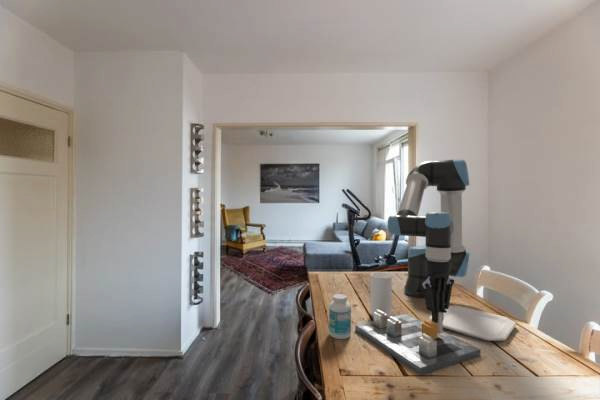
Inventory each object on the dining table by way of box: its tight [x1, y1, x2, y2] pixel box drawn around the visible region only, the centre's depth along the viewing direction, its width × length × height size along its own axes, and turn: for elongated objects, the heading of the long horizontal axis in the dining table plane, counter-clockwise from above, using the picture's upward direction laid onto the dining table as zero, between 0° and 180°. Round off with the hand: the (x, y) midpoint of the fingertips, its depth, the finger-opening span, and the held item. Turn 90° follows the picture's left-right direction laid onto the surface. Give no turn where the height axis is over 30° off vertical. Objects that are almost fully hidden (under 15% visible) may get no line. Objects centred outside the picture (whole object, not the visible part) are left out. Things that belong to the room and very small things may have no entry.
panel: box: [354, 309, 481, 377], centre depth 99 cm, size 24×30×7 cm
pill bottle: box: [328, 293, 352, 340], centre depth 104 cm, size 8×7×14 cm
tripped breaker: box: [422, 319, 437, 339], centre depth 97 cm, size 3×4×5 cm
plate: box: [428, 305, 517, 342], centre depth 112 cm, size 25×25×2 cm
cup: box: [370, 272, 393, 318], centre depth 122 cm, size 8×8×16 cm
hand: (437, 331), depth 98 cm, fingers closed
